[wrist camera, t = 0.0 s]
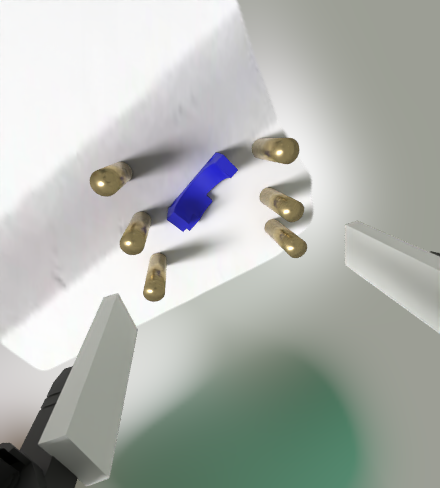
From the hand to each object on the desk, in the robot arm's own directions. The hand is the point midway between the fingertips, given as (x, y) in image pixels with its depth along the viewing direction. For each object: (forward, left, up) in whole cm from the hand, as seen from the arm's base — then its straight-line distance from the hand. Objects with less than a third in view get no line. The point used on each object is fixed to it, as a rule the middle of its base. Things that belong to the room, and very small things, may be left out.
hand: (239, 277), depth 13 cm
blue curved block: (+1, +1, -28) cm, 28 cm away
